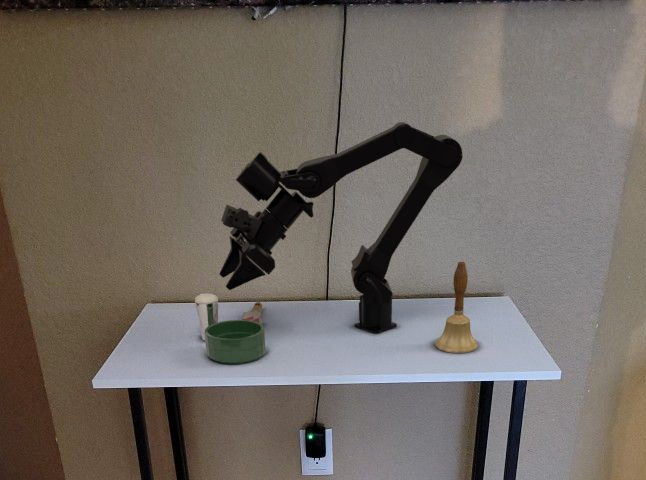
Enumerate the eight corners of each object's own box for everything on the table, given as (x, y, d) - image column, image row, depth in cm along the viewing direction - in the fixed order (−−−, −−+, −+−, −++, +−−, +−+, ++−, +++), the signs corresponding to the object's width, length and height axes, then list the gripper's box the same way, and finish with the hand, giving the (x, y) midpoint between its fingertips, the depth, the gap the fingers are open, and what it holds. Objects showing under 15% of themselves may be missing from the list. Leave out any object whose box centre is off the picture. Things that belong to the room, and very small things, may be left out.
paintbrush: (236, 325, 149) (249, 299, 166) (237, 338, 150) (250, 311, 168) (255, 324, 149) (267, 299, 166) (256, 338, 150) (268, 311, 167)
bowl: (277, 354, 144) (276, 329, 141) (230, 370, 137) (227, 343, 134) (242, 340, 151) (240, 315, 148) (195, 354, 144) (192, 329, 142)
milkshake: (229, 336, 153) (224, 287, 147) (212, 344, 149) (206, 294, 144) (211, 332, 155) (206, 284, 150) (194, 340, 151) (188, 290, 146)
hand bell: (474, 355, 141) (482, 269, 133) (431, 351, 143) (435, 266, 135) (480, 340, 148) (487, 257, 139) (438, 336, 150) (443, 255, 142)
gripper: (237, 181, 147) (187, 243, 150) (253, 197, 131) (197, 266, 135) (278, 220, 153) (229, 279, 156) (298, 240, 137) (243, 305, 141)
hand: (224, 282), depth 147 cm, fingers open, 9 cm apart
